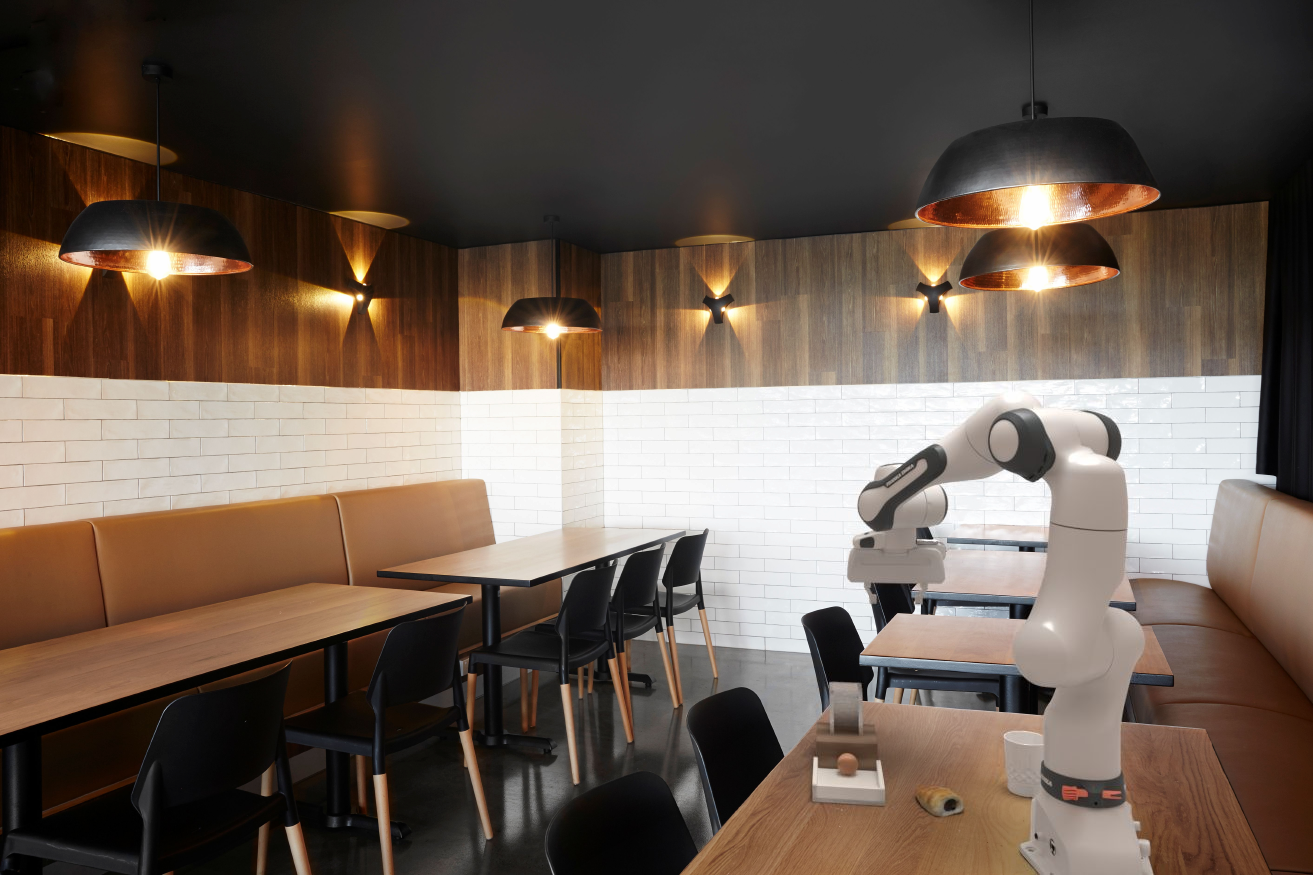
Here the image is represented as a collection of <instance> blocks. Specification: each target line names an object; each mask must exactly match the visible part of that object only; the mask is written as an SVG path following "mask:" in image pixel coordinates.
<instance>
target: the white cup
mask: <svg viewBox="0 0 1313 875" xmlns="http://www.w3.org/2000/svg"><path fill="white" fill-rule="evenodd" d="M1003 745H1004V747H1003V748H1004V761H1005V772H1006V775H1007V776H1006V779H1007V780H1006V782H1007V789H1008V791H1009V792H1010V793H1012V794H1013V795H1017V796H1019V797H1023V798H1029V797H1032V799H1033V798H1034V797H1035V796H1037V795H1038V793H1039V792H1040V791H1041V789H1042V785H1041V776H1040V769H1041V762H1042V761H1043V760H1044V750H1043V734H1042V733H1037V732H1034V731H1028V730H1027V731H1026V730H1013V731H1007V732H1006V733H1004V734H1003Z"/></svg>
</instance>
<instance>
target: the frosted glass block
mask: <svg viewBox="0 0 1313 875" xmlns="http://www.w3.org/2000/svg"><path fill="white" fill-rule="evenodd" d="M828 685H829V686H828V687H829V688H828V689H829V692H828V694H829V698H828V700H829V723H830V734H834V726H853V727H858V730H859V735H863V724H864V716H863V713H864V712H863V709H864V708H863V704H864V703H863V688H862V687H863V686H862V683H861V682H844V681H840V682H839V681H829V684H828Z"/></svg>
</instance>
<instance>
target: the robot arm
mask: <svg viewBox="0 0 1313 875" xmlns="http://www.w3.org/2000/svg"><path fill="white" fill-rule="evenodd" d="M1122 443H1123V442H1122V435H1121V431H1120V429H1119V426H1118V425H1117V423H1116V422H1115V421H1114V420H1113V419H1112V418H1111V417H1110V416H1108V415H1105V414H1103V413H1100V412H1098V411H1097V412H1096V411H1092V410H1088V409H1087V410H1085V409H1083V410H1082V409H1081V410H1076V409H1068V408H1060V407H1044V406H1043V405H1042V403H1041V402H1040V401H1039V399H1037V398H1036V397H1035V396H1034V395H1032V394H1031V393H1029V392H1026V391H1023V390H1018V389H1017V390H1016V389H1011V390H1008V391H1007V390H1006V391H1005V392H1003V393H1001V394H999V395H997V396H996V397H994V398H992V399H991V400H989V401H988V402H987V403H985V404H983V405H982V406H981V407H980V408H978V409H977V410H976V411H974V413H972V415H970V416H969V417H968V418H967V419H966V420H965V421H964V422H963V423H961V424H960V425H959V426H958V427H956V428H955V429H954V430H952V431H951V432H950V433H948V434H947V435H945V436H944V437H941V439H938V440H937V441H936V442H934V443H932V444H931V445H929V446H927V447H925V448H924V449H922V450H920V451H919V452H918V453H916V454H914V455H913V456H912V457H910V458H909V459H907V460H906V461H904V462H896V463H895V462H894V463H886V464H883V465H879V467H876V469H875V473H874V478H873V480H872V481H869V482H868V483H867V484H866V485H865V487H863V489H862V490H861V492H860V494H859V496H858V498H857V499H858V500H857V513H858V515H859V517H860V519H861V521H863V523H864V524H865V525H866V526H867V527H868V528H870V531H867V532H863V533H860V534H856V535H855V536H853V537H852V546H853V547H852V549H850V551H849V554H848V560H847V568H846V569H847V570H846V579H847V580H848V581H849V582H850V583H860V584H861V583H863V588H864V590H865V592H866V594H868V598H869V604H870V605H871V604H872V605H873V604H874V605H876V604H878V603H877V599H878V598H877V594H875V593H872V590H871V588H872V587H871V586H872V584H873V583H874V584H919V586H920V589H921V590H920V592H919V593H918V594H914V604H915V606H916V605H918V606H920V605H923V600H924V599H923V597H924V596H925V594H926V593H927V591H928V589H929V588H928V587H929V584H935V585H940V584H943V583H944V582H945V580H946V573H945V572H946V571H945V565H944V559H945V558H946V557H947V554H946V553H947V552H946V550H947V549H946V545H945V544H944V543H943V542H942V541H939V540H938V539H936V538H932V539H924V538H920V539H919V538H917V528H918V529H919V528H929V527H934V526H938V525H940V524H941V523H942V522H943V521H944V520H945V518H946V516H947V514H948V510H949V509H948V508H949V500H948V496H947V492H946V491H945V489H944V488H943V486H942V485H943V484H949V483H955V482H957V483H958V482H966V481H977V480H983V479H987V478H990V477H992V476H994V475H996V474H999V473H1001V472H1003V471H1004V470H1005V471H1007V472H1010V473H1012V474H1015V475H1017V476H1019V477H1021V478H1023V480H1026V481H1028V482H1030V483H1036V482H1038V481H1039V480H1041V479H1042V480H1044V482H1045V483H1046V484H1047V485H1048V487H1049V490H1050V492H1051V493H1050V494H1051V503H1050V504H1051V505H1050V510H1049V511H1050V513H1049V523H1048V524H1049V527H1048V539H1047V548H1046V549H1047V550H1046V562H1045V569H1044V572H1043V577H1042V580H1041V584H1040V587H1039V589H1038V592H1037V595H1036V597H1035V601H1034V604H1033V605H1032V609H1031V611H1030V612H1029V613H1030V614H1029V616H1028V618H1026V620H1025V622H1024V623H1023V625H1022V626H1021V627H1020V628H1019V630H1018V631H1017V632H1016V634H1015V635H1014V638H1013V639H1012V640H1013V641H1012V644H1011V645H1012V646H1011V655H1012V659H1013V661H1014V664H1015V666H1016V668H1017V670H1018V671H1019V673H1020V674H1021V675H1022V676H1023V677H1024V678H1025V679H1026V680H1027V681H1028V682H1030V683H1031V684H1033V685H1036V686H1039V687H1045V688H1055V691H1054V693H1053V696H1052V698H1051V700H1050V702H1049V703H1048V705H1047V706H1046V708H1045V709H1044V713H1043V717H1042V723H1043V724H1042V732H1043V733H1042V735H1043V750H1044V760H1043V761H1042V762H1041V769H1040V776H1041V785H1042V789H1041V791H1040V792H1039V793H1038V795H1037V796H1035V797H1034V798H1032V799H1031V806H1030V829H1029V830H1030V832H1029V835H1030V836H1029V840H1027V841H1024V842H1021V843H1020V845H1019V852H1020V854H1022V856H1023V857H1024V858H1025V859H1026V860H1027V861H1028V862H1029V863H1028V864H1030V865H1031V866H1032V868H1033V869H1034V870H1035V871H1036V872H1037V873H1038V874H1039V875H1155V874H1154V871H1153V868H1152V866H1151V862H1150V858H1149V857H1151V842H1150V840H1148V839H1145V838H1138V836H1137V832H1140V831H1141V822H1140V820H1139V821H1138V820H1134V818H1133V815H1132V804H1130V803H1129V801H1127V798H1128V797H1127V791H1126V789H1127V785H1126V780H1125V777H1124V776H1125V775H1124V772H1123V770H1122V768H1121V762H1122V760H1121V755H1122V754H1121V748H1122V747H1121V742H1122V741H1121V740H1122V739H1121V738H1122V736H1121V735H1122V734H1121V732H1122V730H1121V727H1122V720H1123V714H1124V708H1125V707H1124V706H1125V703H1126V700H1127V695H1128V692H1129V687H1130V686H1129V685H1130V681H1131V680H1132V675H1133V672H1134V669H1135V667H1136V664H1137V663H1138V661H1139V659H1140V657H1141V656H1142V655H1143V654H1144V650H1145V648H1146V646H1145V645H1146V637H1145V633H1144V630H1143V627H1142V625H1141V624H1140V623H1139V621H1138V620H1137V619H1136V618H1135V617H1134V615H1133V614H1131V613H1129V612H1128V611H1126V610H1124V609H1121V608H1118V607H1111V606H1109V605H1110V602H1111V600H1112V598H1113V597H1114V594H1115V592H1116V591H1117V589H1118V588H1119V587H1120V585H1121V584H1122V582H1123V580H1124V577H1125V572H1126V571H1125V570H1126V569H1125V568H1126V557H1127V556H1126V555H1127V554H1126V553H1127V540H1128V529H1129V528H1128V527H1129V498H1128V489H1127V481H1126V474H1125V471H1124V468H1123V467H1122V466H1121V464H1119V462H1117V461H1118V459H1119V456H1120V454H1121V451H1122Z"/></svg>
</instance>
